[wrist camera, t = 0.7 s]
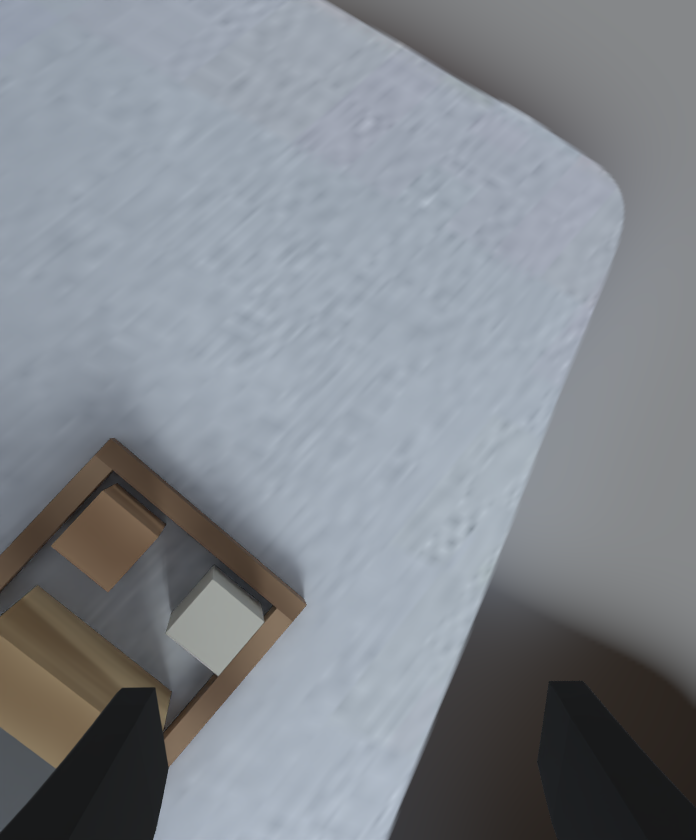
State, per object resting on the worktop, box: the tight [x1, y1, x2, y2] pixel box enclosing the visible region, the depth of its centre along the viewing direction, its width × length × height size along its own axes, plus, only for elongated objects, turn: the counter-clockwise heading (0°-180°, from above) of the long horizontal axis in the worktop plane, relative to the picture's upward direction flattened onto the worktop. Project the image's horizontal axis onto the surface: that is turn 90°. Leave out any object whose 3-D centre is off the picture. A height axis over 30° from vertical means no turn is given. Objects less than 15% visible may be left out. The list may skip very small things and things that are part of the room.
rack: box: [0, 438, 306, 767], centre depth 29 cm, size 12×12×1 cm
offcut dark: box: [51, 483, 166, 592], centre depth 28 cm, size 3×3×4 cm
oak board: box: [0, 585, 172, 768], centre depth 26 cm, size 2×8×6 cm, turn 48°
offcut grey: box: [165, 565, 264, 676], centre depth 29 cm, size 3×3×3 cm
